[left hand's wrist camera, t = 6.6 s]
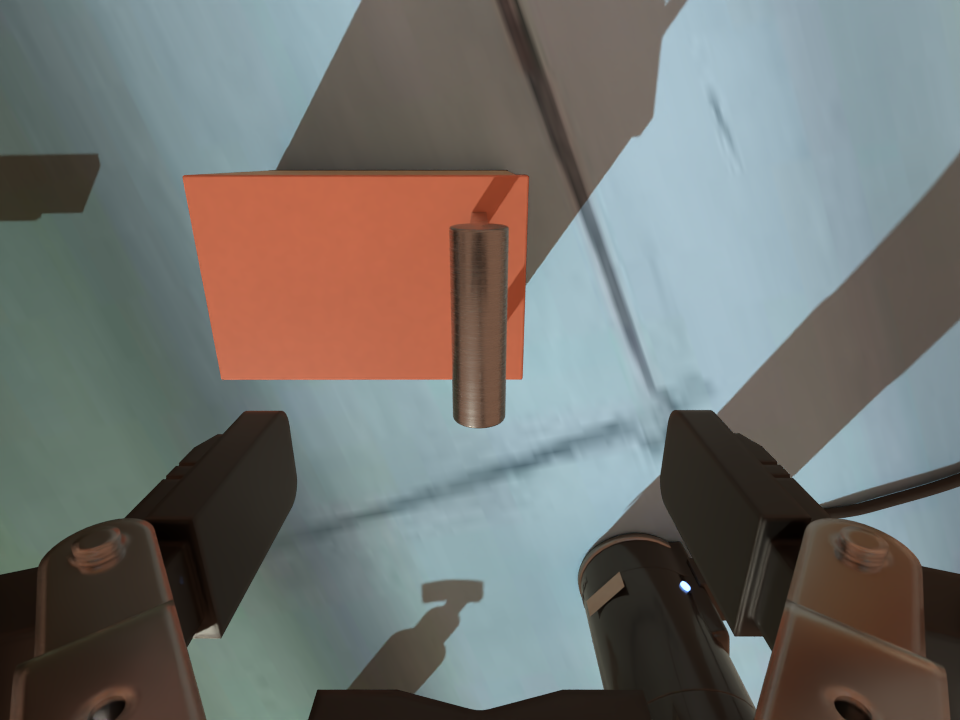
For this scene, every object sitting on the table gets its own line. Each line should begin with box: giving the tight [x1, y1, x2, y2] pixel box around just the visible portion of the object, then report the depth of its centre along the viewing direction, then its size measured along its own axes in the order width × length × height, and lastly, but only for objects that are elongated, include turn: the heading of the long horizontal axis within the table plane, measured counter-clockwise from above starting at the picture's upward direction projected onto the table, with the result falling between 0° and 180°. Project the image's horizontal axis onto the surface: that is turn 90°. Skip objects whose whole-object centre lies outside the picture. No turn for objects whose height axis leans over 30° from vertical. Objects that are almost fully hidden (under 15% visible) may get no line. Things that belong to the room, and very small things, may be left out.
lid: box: [183, 175, 529, 428], centre depth 22 cm, size 16×10×9 cm, turn 90°
